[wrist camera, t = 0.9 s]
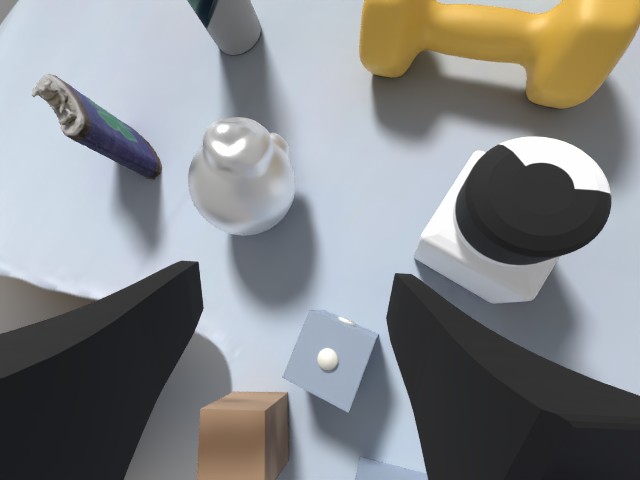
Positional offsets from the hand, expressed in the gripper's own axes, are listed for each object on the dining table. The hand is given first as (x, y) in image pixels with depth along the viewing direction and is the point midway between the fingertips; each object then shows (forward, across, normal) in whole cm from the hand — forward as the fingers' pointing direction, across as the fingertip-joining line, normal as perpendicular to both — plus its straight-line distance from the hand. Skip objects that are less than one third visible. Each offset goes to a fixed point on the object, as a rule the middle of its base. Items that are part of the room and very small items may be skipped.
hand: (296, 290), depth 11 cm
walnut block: (+8, +3, +19) cm, 20 cm away
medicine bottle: (+13, -14, +3) cm, 19 cm away
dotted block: (+10, -3, +12) cm, 16 cm away
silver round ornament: (+20, +4, +3) cm, 21 cm away
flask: (+27, +20, 0) cm, 34 cm away
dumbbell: (+23, -14, -10) cm, 29 cm away
